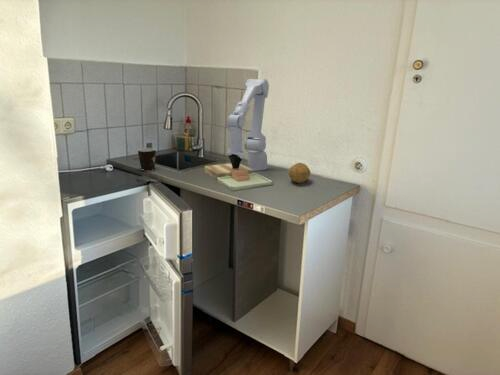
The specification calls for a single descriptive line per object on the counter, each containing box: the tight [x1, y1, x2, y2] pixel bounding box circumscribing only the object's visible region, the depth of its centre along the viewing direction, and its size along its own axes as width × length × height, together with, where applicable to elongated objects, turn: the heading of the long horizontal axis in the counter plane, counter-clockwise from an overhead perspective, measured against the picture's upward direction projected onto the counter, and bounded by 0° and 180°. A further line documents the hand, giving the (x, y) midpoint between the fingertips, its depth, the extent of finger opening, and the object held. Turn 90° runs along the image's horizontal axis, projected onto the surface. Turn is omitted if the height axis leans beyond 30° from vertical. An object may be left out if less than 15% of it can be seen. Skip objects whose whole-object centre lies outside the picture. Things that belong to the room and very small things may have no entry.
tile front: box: [232, 174, 250, 182], centre depth 173 cm, size 6×6×2 cm
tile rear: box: [231, 168, 248, 177], centre depth 174 cm, size 6×6×2 cm
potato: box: [288, 162, 311, 184], centre depth 172 cm, size 10×14×8 cm
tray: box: [216, 172, 274, 192], centre depth 170 cm, size 20×16×2 cm
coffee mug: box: [137, 147, 157, 171], centre depth 188 cm, size 12×9×10 cm
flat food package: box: [204, 162, 254, 180], centre depth 184 cm, size 18×16×3 cm
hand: (235, 170), depth 177 cm, fingers closed
